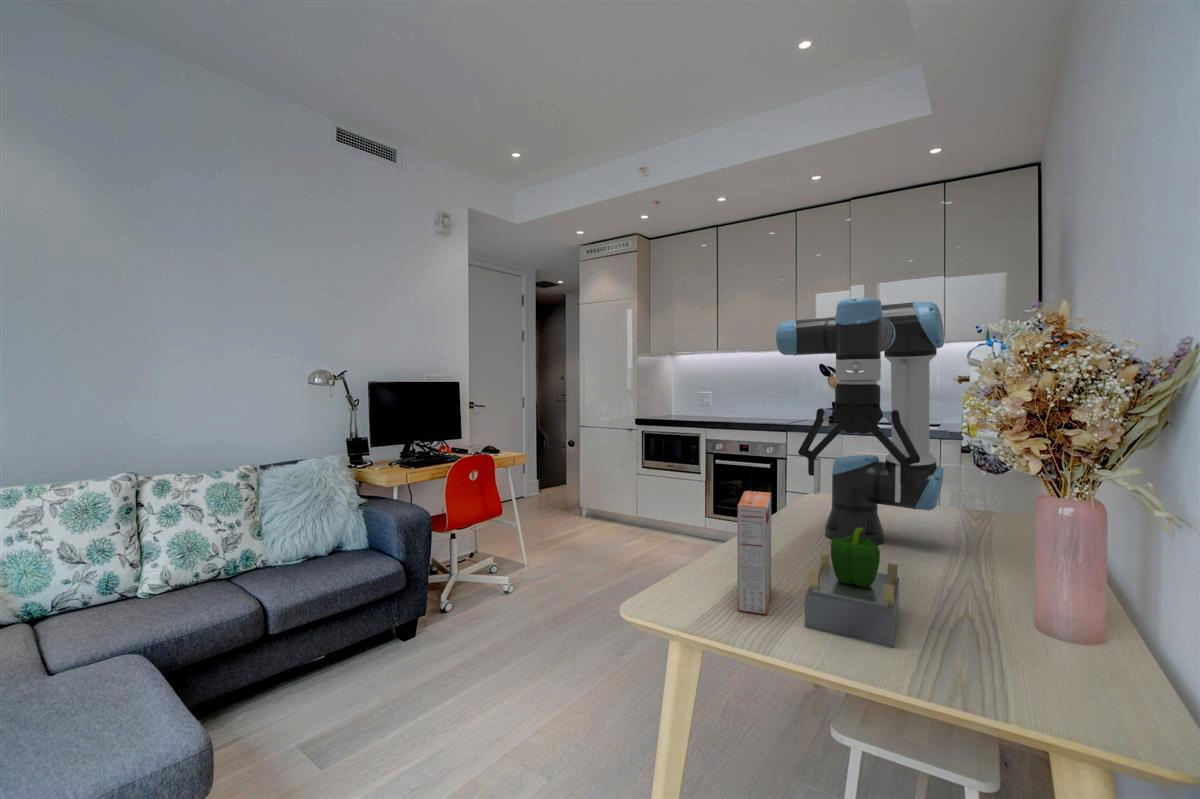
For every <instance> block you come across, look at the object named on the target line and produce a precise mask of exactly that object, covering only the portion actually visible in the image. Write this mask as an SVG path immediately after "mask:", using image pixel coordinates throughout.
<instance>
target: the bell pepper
mask: <svg viewBox="0 0 1200 799" xmlns="http://www.w3.org/2000/svg"><path fill="white" fill-rule="evenodd" d="M862 532H863V529H862V528H859V527H858V528H857V529H855V531H854V535H853V536H847V537H844V538H833V539H831V542H830V561H831V565H833V569H834V572H835V576H836V577H837V579H838V580H839V581H841V582H842V583H846V584H854V585H857V586H861V587H868V586H870V585H872V583H873V582H874V581H875V577H876V574H877V573H878V571H879V570H878V569H879V567H880V562H881V561H880V559H881V551H880V549H879V547H878V544H873V542H872V541H871V540H869V539H867V538H864V539H859V534H860V533H862Z"/></svg>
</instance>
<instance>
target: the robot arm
mask: <svg viewBox="0 0 1200 799" xmlns="http://www.w3.org/2000/svg"><path fill="white" fill-rule="evenodd" d="M944 336H945V332H944V325H943V320H942V315H941V311H940V308H939V306H938V305H937V304H936V303H935V302H933V301H932V302H931V301H912V302H903V303H891V304H882V300H880V298H879V299H878V298H876V297H855V298H847V299H843V300H841V301H839V302H838V303H837V306H836V313H835V315H834V316H827V317H819V318H818V317H816V318H808V319H805V318H804V319H792V320H786V321H782V322H780V323H779V325H778V326H777V330H776V334H775V339H776V340H775V341H776V346H777V350H778V351H779V353H780V354H782V355H785V356H806V355H807V356H808V355H828V354H829V355H835V375H834V376H835V377H834V378H835V381H836V382H838V383H837V384H836V385H835V386H834V387H835V388H834V389H835V390H834V408H833V409H828V408H827V409H826V408H824V407H820V408H818V409H817V410H816V415H815V421H813V423H812V425H811V427H810V429H809V431H808V433H807V435H806V437H805V438H804V440H803V441H802V444H801V446H800V447H799V448H798V452H797V453H798V456H802V457H806V458H807V461H808V462H807V464H808V468H807V473H808V476H810V477H811V476H812V477H813V495H819V493H821V472H822V471H821V469H822V468H821V467H822V466H821V464H822V463H821V462H822V459H821V457H820V458H819V457H818V455H820V453H822V451H824V449H825V448H827V446H828V445H829V444H830V443H831V442H832V441H834V439H835V438H836V437H837V436H838V435H839V434H840V433H841V432H842V431H843V432H845V433H847V434H854V433H857V434H861V435H866V434H870V433H871V434H872V435H873V436H874V437H875V438H876V439H877V440H878V441H879V442H880V443H881V444H882V445H883V447H884V448H886V449H887V451H888V452H889V453H888V454H887V455H886V456H885V461H880V458H879V456H877V455H870V454H866V455H865V454H863V455H862V454H861V455H848V456H847V455H846V456H840V457H838V458H836V459H834V460H833V463H832V473H831V477H832V478H831V509H830V512H829V515H828V517H827V520H826V523H825V526H824V535H825V536H826V537H827V538H829V539H831V540H833V538H844V537H847V536H853V535H854V531H855V529H857V528H858V527H859V528H862V529H863V532H862V533H860V534H859V539H864V538H867V539H869V540H871V541H872V542H873V544H875V545H880V544H882V543H884V542H885V531H884V529H883V525H882V523H881V519H880V517H879V514H878V505H883V506H890V507H898V508H906V509H913V510H922V511H932V510H934V509H935V508H937V505H938V502H939V498H940V496H941V491H942V486H943V485H942V484H943V478H944V467H941V466H940V465H937V458H936V457H935V456H933V454H931V453H930V452H931V451H930V363H931V361H932V360H933V359H934V358H935V357H936V356H937V354H938V352H937V350H938V349H940V348H943V347H944V345H945V338H944ZM882 352H883V354H884V355H883V357H884V358H885V359H886V360H887V361H888V362H889V363H890V379H891V380H890V387H891V388H890V392H891V393H890V394H891V395H890V397H891V398H890V400H891V401H890V404H891V410H886V411H882V409H881V386H880V384H878V382H879V381H881V377H882V376H881V375H882V374H881V373H882V372H881V371H882V359H881V358H882V357H881V356H882V355H881V354H882ZM829 417H832V418H833V419H834V420H835V422H836V425H835V426H834V428H832V429H831V431H829V433H827V435H826V436H825V437H823V438H822V440H821V441H820V442H819V443H818V444H817V445H816V446H815V447H814V448H812V450H810V447H811V445H812V444H813V442H814V440H815V439H816V437H817V435H818V433H819V431H820V430H821V428H822V426H823V424H824V422H825V421H826V420H828V419H829ZM883 418H885V419H886V420H887V421H886V422H888V423H891V439H890V438H889V437H888V436H887V435H886V433H884V431H883V429H882V428H880V426H879V425H878V424H879V423H880V421H881V420H882V419H883Z"/></svg>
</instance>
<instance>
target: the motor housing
mask: <svg viewBox="0 0 1200 799" xmlns="http://www.w3.org/2000/svg"><path fill="white" fill-rule="evenodd" d="M819 555H820V556H819V557H820V558H819V562H820V563H819V569H818V571H816V570H812V569H810V570H809V572H808V589H807V590H806V592H805V594H804V627H805V628H807V629H812V630H818V631H821V632H825V633H830V634H834V635H839V636H843V637H847V638H850V639H855V640H860V641H865V642H867V643H873V644H876V645H880V646H886V647H888V648H889V647H890V648H894V646H895V638H896V632H897V631H896V630H897V623H898V622H897V621H898V614H899V609H900V608H899V606H900V605H899V603H900V600H899V598H900V596H899V595H900V577H898V576H899V575H898V570H899V568H898V566H899V565H898V564H896V563H890V562H889V563H887V573H882V572H877V574H876V577H875V581H874V582H873V583H872V585H870V586H868V587H861V586H857V585H854V584H846V583H842V582H841V581H839V580H838V579H837V577H836V576H835V572H834V569H833V565H832V564H831V553H827V552H820V554H819Z"/></svg>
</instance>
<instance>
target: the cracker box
mask: <svg viewBox="0 0 1200 799" xmlns="http://www.w3.org/2000/svg"><path fill="white" fill-rule="evenodd" d="M736 509H737V510H736V513H737V515H736V518H737V519H736V520H737V522H736V524H737V526H736V527H737V528H736V529H737V532H736V533H737V536H736V537H737V539H736V540H737V611H738V612H741V613H743V612H744V613H749V614H750V613H751V614H756V615H765V616H767V615H768V614H769V606H770V600H771V591H772V492H767V491H756V490H755V491H753V490H745V491H744V492H743V494H742V495H741V498H740V500H739V502H738V504H737V507H736Z"/></svg>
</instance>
